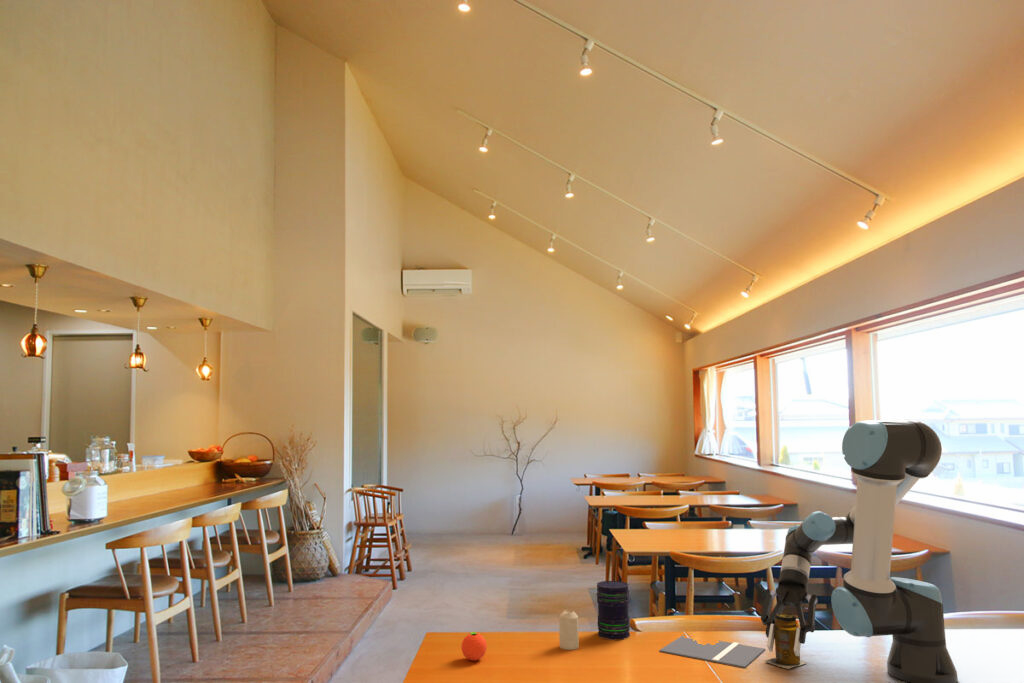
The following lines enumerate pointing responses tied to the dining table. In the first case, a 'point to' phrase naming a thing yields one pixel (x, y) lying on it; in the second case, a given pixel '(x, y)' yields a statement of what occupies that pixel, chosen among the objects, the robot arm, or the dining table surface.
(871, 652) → the dining table surface
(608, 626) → the storage jar
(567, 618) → the candle
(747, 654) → the mat
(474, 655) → the clementine
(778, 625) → the condiment
